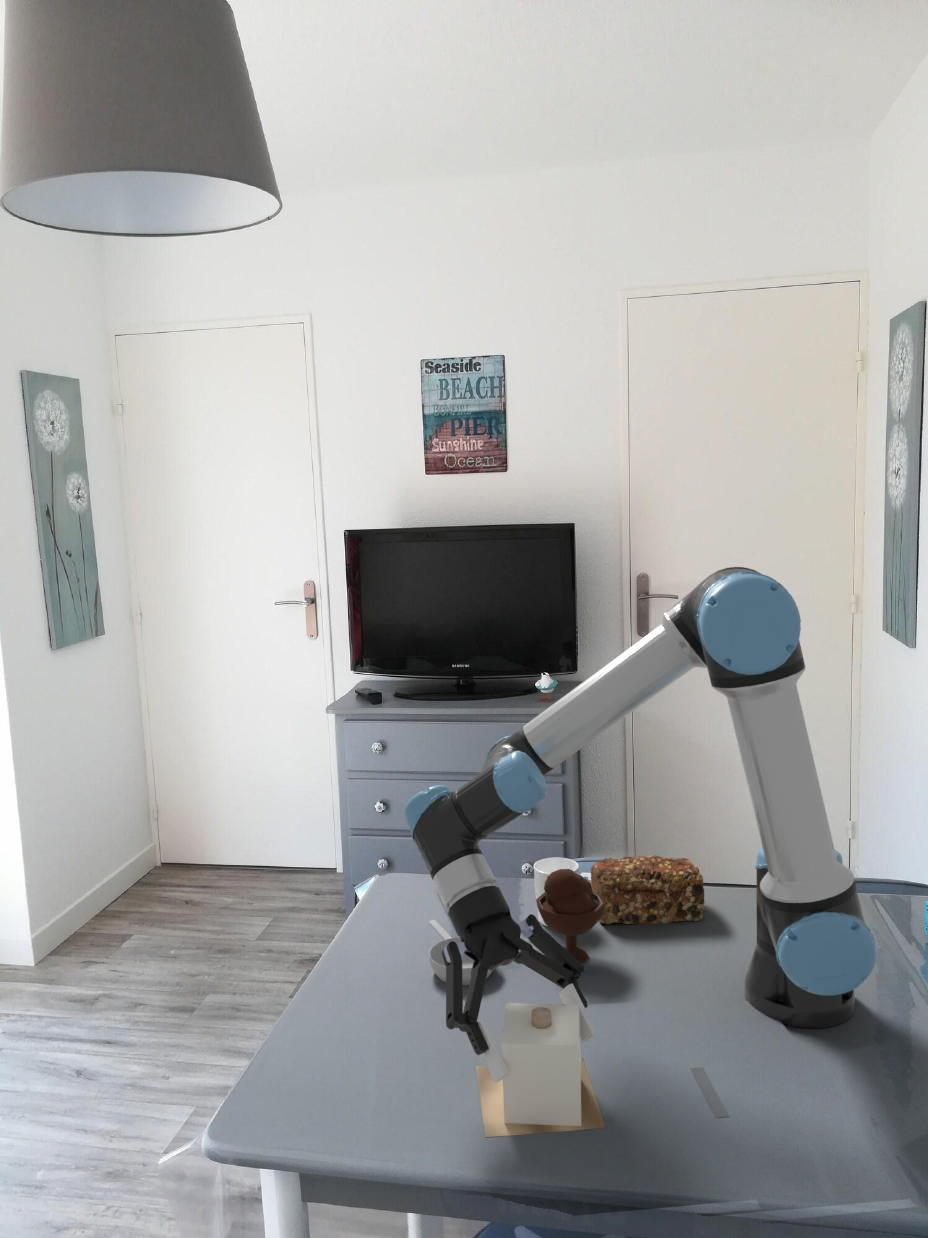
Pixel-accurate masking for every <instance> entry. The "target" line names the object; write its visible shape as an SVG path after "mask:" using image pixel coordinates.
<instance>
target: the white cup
mask: <svg viewBox="0 0 928 1238" xmlns="http://www.w3.org/2000/svg"><path fill="white" fill-rule="evenodd" d="M579 868H580V867H579V863H578V862H577V861H576V860H573V859H571V858H567V857H555V856H554V857H546V858H543V859H539V860H537V861H535V862H534V864H533V875H534V890H535V891H534V892H535V900H536V899H537V898H538V897H540V896H541V895H542V894H543V893H544V892H545V890H544V885H545V881H546V880H547V877H548V876H549V875H550V874H551V873H552V872H554V871H557V870H559V869H570V870H572V871H574V872H575V873H576V874H578V875H580V873H579V872H580V871H579V870H580V869H579ZM537 916H538V918H537V920H538V922H539V923H540V925H543V926H546V927H548V926H547V925H546V924H545V923H544V921H543V919H542V916H541V914H540V912H539V910H538V909H537Z"/></svg>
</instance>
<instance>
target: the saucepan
mask: <svg viewBox="0 0 928 1238" xmlns="http://www.w3.org/2000/svg"><path fill="white" fill-rule="evenodd" d="M428 925H430V927H431V928H433V930H434V931H435V932H436V933H437V934H438V935H439V936H440V938H441V939H442V940H441V941H439V942H437V943H435V944H434V945H432V947H431V948H430V950H429V962H430V967H431V969H432V970H433V973H435V974H436V976H437V977H438V979H439V980H440V981H442V982H443V983H446V965H445V962H444V959H443V956H442V951H443V950H444V948H445V947H446V946H447V945H448V944H449V943H450V942H451V941H454V942H456V943H461V938H460V937H459V936H455V937H452V936H450V934H449V933H448V932H447V931H446V930H445V929H444V928H443V927H442V926H441V925H440V924H439V922H438V921H437V920H435V919H431V920H429V921H428ZM463 954H464V953H463ZM473 962H474V960H472V959H471V958H470V957H468V956H467V955H465V954H464V956H463V959H462V986H469V984H470V980H471V970H472V966H473ZM493 971H494V970H492V971H490V969H489V970H488V972H487V976H486V980H487V979H488V978H489V977H490V976H491V974H492V972H493Z"/></svg>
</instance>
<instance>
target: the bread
mask: <svg viewBox="0 0 928 1238" xmlns="http://www.w3.org/2000/svg"><path fill="white" fill-rule="evenodd" d="M590 883H591V887H592V891H593V892H595V893H597V894H600V895H601V897H602V899H603V900H604V902H605V908H604V912H603V914H602V916H601V919H600V920H599V921H598V922H599V923H600V924H605V925H607V926H609V925H611V924H613V923H614V924H615V923H619V924H625V925H638V924H643V925H645V924H646V925H647V924H648V925H649V924H670V923H674V922H675V923H676V922H679V921H680V922H685V921H689V922H691V921H693V922H697V921H700V920H702V919H703V917H704V911H705V888H704V877H703V875H702V874H701V873H700V869H699V866H698V867H697V866H695V865H694V863H693V862H692V861H690V860H689V859H688V858H685V857H683V858H675V857H663V856H661V855H660V856H659V855H656V854H655V855H641V856H640V855H637V856H636V855H635V856H623V857H622V858H612V857H605V858H603V859H599V860H597V861H596V862H595V863H593V865H592V866H591V868H590Z"/></svg>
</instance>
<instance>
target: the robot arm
mask: <svg viewBox="0 0 928 1238" xmlns="http://www.w3.org/2000/svg"><path fill="white" fill-rule="evenodd" d="M801 620H802V619H801V615H800V611H799V607H798V606H797V603H796V601H795V599H794V597H793V596H792V594H791V593H790V592H789V591H788V589H786V587H785V586H784V585H783V584H781V583H780V582H778V581H777V580H775V579H774V578H773V577H771V576H768V575H767V574H762V573H761V572H759V571H757V570H755V569H753V568H749V567H744V566H730V567H725V568H722V569H719V570H716V571H715V572H713V573H711V574H709V575H708V576H707V577H706V578H704V579H703V580H702V581H701V582H700V583H699V584H698V585H696V586H695V588H693V589H692V590H691V591H690V592H689V593H688V594H686V595H685V596H684V597H682V599H681V600H679V601H678V602H677V603H675V605H673V606H672V607H671V608H669V609H668V610H667V611H665V612H664V613H663V617H662V623H661V624H660V625H659V626H657V627H656V628H654V629H653V630H652V631H651V632H649V633H648V634H646V635H645V636H643V637H642V638H641V639H640V640H638V641H637V642H635V643H634V644H633V645H632V646H630V647H628V648H627V649H626V650H625V651H623V652H622V653H621V654H619V655H618V656H617V657H615V658H614V659H613V660H611V661H610V662H608V663H607V664H606V665H605V666H603V667H601V668H600V669H599V670H598V671H596V672H595V673H594V674H593V675H591V676H590V677H588V678H586V680H584V681H583V682H581V683H579V685H577V686H576V687H574V688H573V689H572V690H571V691H569V692H568V693H567V694H565V695H564V696H562V697H561V698H560V699H558V700H557V701H556V702H554V703H553V704H552V705H550V706H549V707H547V708H546V709H545V710H543V711H542V712H541V713H540V714H537V716H535V717H533V718H532V719H531V720H530V721H529V722H527V723H526V724H524V725H523V727H522V728H521V727H520V729H518V730H517V731H515V732H514V733H512V734H511V735H507V736H504V737H502V738H500V739H498V741H497V742H495V743H494V744H493V745H492V747H491V748H490V750H489V752H487V756H486V760H485V762H484V764H483V765H482V768H481V769H480V772H479V774H477V775H476V776H475V777H473V778H472V779H470V780H469V781H467V782H466V783H465V784H464V785H462V786H460V787H459V788H457V789H455V790H454V791H452V790H451V788H450V787H449V786H447V785H442V784H441V785H439V784H438V785H433V786H430V787H428V788H427V789H425V790H421V791H419V792H418V793H416V794H415V795H413V796H412V797H411V798H410V799H409V800H408V802H407V803H406V805H405V807H404V810H403V811H404V812H403V813H404V818H405V821H406V823H407V825H408V829H409V831H410V833H411V835H410V836H411V839H412V840H413V842H414V843H415V845H416V847H417V850H418V851H419V853H420V856H421V858H422V860H423V862H424V864H425V866H426V868H427V870H428V872H429V874H430V878H431V880H432V881H433V882H432V883H433V884H434V886H435V888H436V890H437V892H438V895H439V897H440V899H441V901H442V903H443V906H444V908H446V909H448V912H447V915H448V917H449V920H450V922H451V925H452V926H453V929H454V931H455V933H456V936H457V937H460V938H461V943H456V942H454V941H451V942H450V943H449V944H448V945H447V946H446V947H445V948H444V950H443V951H442V956H443V959H444V962H445V965H446V982H445V1024H446V1025H445V1026H446V1028H447V1029H448V1030H455V1029H459V1031H460V1032H463V1033H466V1035H467V1038H468V1039H469V1042H470V1045H471V1047H472V1049H473V1051H474V1053H475V1054H476V1055H477V1056H480V1055H482V1056H483V1059H484V1062H485V1064H486V1066H488V1069H489V1071H490V1073H491V1075H492V1078H493V1080H494V1082H495V1083H496V1082H498V1081H500V1080H501V1079H503V1078H504V1077H505V1076H506V1075H508V1074H509V1072H508V1069H507V1067H506V1065H505V1063H504V1060H503V1058H502V1053H501V1051H500V1049H499V1047H498V1045H497V1043H496V1040H495V1038H494V1036H493V1034H492V1032H491V1029H490V1027H489V1025H488V1023H487V1020H486V1019H485V1018H483V1019H480V1020H479V1021H478V1018H479V1013H480V1008H481V1006H482V1005H481V1004H482V999H483V996H484V995H483V994H484V990H485V986H486V980H487V979H486V976H487V972H488V970H489V969H490V971H492V970H493V971H495V970H496V969H498V968H499V967H501V966H508V965H510V964H511V963H512V962H515V963H516V964H519V965H521V964H522V965H524V966H525V967H527V968H528V969H530V970H532V971H534V972H535V973H536V974H537V975H540V976H542V977H543V978H545V979H547V980H549V981H550V982H551V983H554V985H557V987H560V988H561V989H562V990H560V991H559V992H558V995H559V996H560V997H559V998H560V999H561V1001H562V1004H566V1005H579V1015H580V1041H582V1043H583V1044H584V1043H587V1042H589V1041H590V1040H591V1039H592V1038H593V1037H595V1036H596V1035H597V1034H598V1031H597V1029H596V1027H595V1025H594V1023H593V1020H592V1019H591V1017H590V1015H589V1013H588V1011H587V1009H586V1008H588V1005H589V1004H588V1001H587V1000H586V998H585V995H584V993H583V991H582V989H581V988H580V986H579V983H578V980H579V979H580V977H581V976H582V975H583V974H584V973H585V972H586V967H585V965H583V963H582V964H581V963H580V962H579V961H578V960H577V959H576V958H575V957H574V956H572V955H571V954H570V953H569V952H568V951H567V950H566V949H565V948H564V947H565V946H563V945H561V943H560V942H559V941H558V940H556V939H555V937H553V936H552V935H551V934H550V933H549V932H548V931H546V930H545V928H543V927H542V924H541V923H540V922H539V920H538V918H537V917H536V915H534V914H532V913H531V914H528V915H527V917H526V918H525V919H523V920H522V921H519V922H518V923H517V922H516V921H515V920H514V919H513V918H512V915H511V911H510V907H509V905H508V903H507V900H506V899H505V896H504V894H503V892H502V891H501V888H500V887H498V886H497V885H496V883H497V879H496V878H495V876H494V874H493V872H492V870H491V868H490V866H489V864H488V862H487V859H486V857H485V856H484V854H483V852H482V850H481V847H480V845H479V843H480V842H481V841H483V840H485V839H486V838H488V837H489V836H490V835H492V834H493V833H495V832H496V831H499V829H502V828H503V827H504V826H506V825H508V824H509V823H511V822H512V821H514V820H515V819H517V818H519V817H520V816H521V815H523V814H525V813H528V812H530V811H531V810H532V809H533V807H535V806H536V805H537V804H539V802H541V801H543V800H544V799H545V798H546V797H547V795H548V785H547V783H546V782H547V781H546V779H545V777H544V776H546V775H547V774H548V773H550V772H551V771H552V770H554V769H555V768H556V767H558V766H559V765H561V764H562V763H563V762H564V761H566V760H567V759H568V758H570V757H571V756H573V755H574V754H576V753H577V752H578V751H580V750H581V749H582V748H584V747H585V746H587V745H588V744H590V743H591V742H592V741H594V740H595V739H597V737H600V736H601V735H602V734H603V733H605V732H606V731H607V730H609V729H611V728H612V727H613V726H615V725H616V724H617V723H619V722H620V721H622V720H623V719H624V718H625V717H627V716H628V715H630V714H631V713H633V712H634V711H635V710H637V709H639V707H641V706H642V705H644V704H646V702H648V701H650V700H651V699H652V698H654V697H655V696H656V695H658V694H660V692H662V691H663V690H665V689H666V688H667V687H669V686H670V685H672V684H673V683H674V682H676V681H678V680H679V679H681V678H682V677H683V676H684V675H686V674H687V673H688V672H691V670H693V669H694V668H702V669H703V668H704V669H707V672H708V676H709V680H710V685H711V688H712V689H714V690H715V691H717V692H718V693H720V694H722V695H723V696H725V698H726V699H727V704H728V708H729V712H730V716H731V719H732V724H733V729H734V733H735V737H736V741H737V746H738V750H739V754H740V757H741V763H742V766H743V771H744V774H745V779H746V785H747V787H748V793H749V795H750V801H751V804H752V808H753V811H754V812H753V813H754V817H755V820H756V825H757V828H758V829H757V830H758V833H759V838H760V842H761V846H762V847H761V848H759V849H758V851H757V854H756V862H755V865H754V869H755V870H756V946H755V949H754V952H753V954H752V957H751V960H750V962H749V965H748V968H747V970H746V973H745V977H744V980H743V981H744V983H743V984H744V986H743V988H744V989H743V990H744V993H743V994H744V999H745V1001H746V1002H748V1004H750V1006H752V1008H754V1009H755V1010H757V1011H758V1012H760V1013H761V1014H764V1015H765V1016H767V1017H769V1018H772V1019H775V1020H778V1021H780V1022H781V1024H783V1025H786V1026H792V1027H798V1028H806V1029H807V1028H809V1029H818V1028H819V1029H820V1028H821V1029H822V1028H830V1027H834V1026H837V1025H840V1024H843V1023H845V1022H847V1021H848V1020H849V1019H850V1018H851V1017H852V1016H853V1015H854V1012H855V1009H856V1008H855V1001H856V999H855V998H856V995H855V989H856V988H858V987H859V986H861V985H862V984H863V983H864V982H865V981H866V980H867V979H868V977H869V976H870V975H871V974H872V972H873V971H874V968H875V965H876V961H877V954H878V953H877V947H876V940H875V936H874V934H873V933H872V931H871V928H869V925H867V924H866V921H865V918H864V914H863V910H862V905H861V902H860V897H859V894H858V893H859V892H858V890H857V885H856V882H855V881H856V880H855V876H854V873H853V871H852V870H851V868H849V867H847V866H846V865H844V864H843V863H844V861H843V857H842V854H841V853H840V852H839V851H838V850H837V849H835V845H834V842H833V837H832V832H831V828H830V825H829V824H830V823H829V819H828V816H827V812H826V808H825V807H826V806H825V803H824V799H823V794H822V790H821V786H820V785H821V784H820V782H819V781H820V780H819V777H818V772H817V768H816V763H815V760H814V755H813V751H812V746H811V743H810V741H811V740H810V738H809V733H808V729H807V725H806V721H805V716H804V711H803V708H802V703H801V700H800V694H799V691H798V687H797V684H798V681H799V679H800V678H801V677H802V675H803V674H804V672H805V671H806V663H805V660H804V656H803V651H802V650H803V649H802V646H801V642H800V637H801V630H802V627H801V622H802V621H801ZM521 934H522V935H521ZM521 936H522V937H523V938H527V939H528V941H530V943H529V942H527V941H526V940H524V939H522V938H521ZM533 946H534V947H535V948H536V949H535V948H533ZM537 949H538V950H537ZM463 953H464V954H465V955H467V956H468V957H470V958H471V959H472V960H474V962H473V966H472V970H471V980H470V984H469V985H468V989H467V994H466V999H465V1003H463V998H464V997H463V985H462V959H463V956H464V954H463ZM493 971H492V972H493ZM463 1006H464V1007H463Z"/></svg>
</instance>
